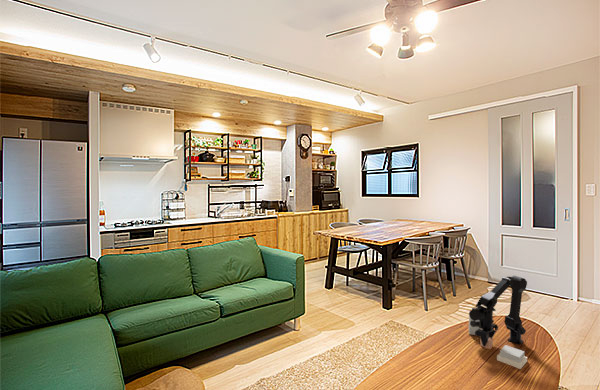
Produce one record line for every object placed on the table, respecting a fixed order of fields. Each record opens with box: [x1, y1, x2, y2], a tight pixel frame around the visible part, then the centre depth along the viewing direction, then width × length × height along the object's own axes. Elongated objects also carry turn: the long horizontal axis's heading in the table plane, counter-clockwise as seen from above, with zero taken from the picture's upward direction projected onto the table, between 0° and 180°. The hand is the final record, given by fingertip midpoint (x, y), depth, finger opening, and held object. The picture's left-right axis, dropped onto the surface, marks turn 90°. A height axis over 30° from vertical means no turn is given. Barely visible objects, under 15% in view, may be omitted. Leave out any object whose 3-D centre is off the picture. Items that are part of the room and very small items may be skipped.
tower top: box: [499, 344, 526, 363], centre depth 172 cm, size 9×9×3 cm
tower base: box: [496, 352, 528, 370], centre depth 172 cm, size 11×11×3 cm
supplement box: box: [468, 310, 482, 336], centre depth 203 cm, size 7×7×13 cm
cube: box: [479, 337, 494, 350], centre depth 187 cm, size 5×5×5 cm
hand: (486, 344), depth 187 cm, fingers open, 7 cm apart
